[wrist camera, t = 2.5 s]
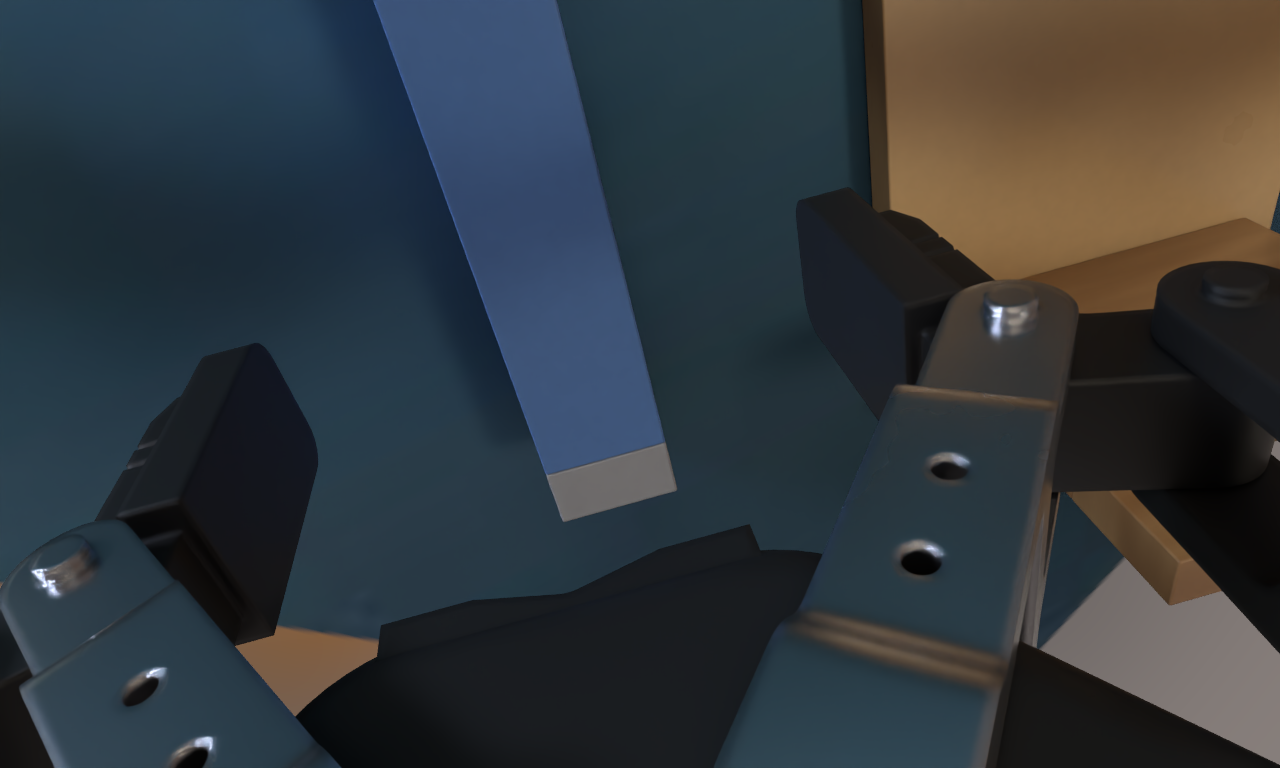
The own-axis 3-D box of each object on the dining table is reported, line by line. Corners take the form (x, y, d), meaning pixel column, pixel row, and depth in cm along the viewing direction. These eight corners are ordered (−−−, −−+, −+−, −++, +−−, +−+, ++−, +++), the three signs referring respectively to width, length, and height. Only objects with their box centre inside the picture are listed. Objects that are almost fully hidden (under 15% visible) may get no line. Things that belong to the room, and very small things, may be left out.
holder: (836, -488, 15) (1443, -1027, 6) (1426, -635, 15) (2927, -1377, 6) (881, 406, 26) (1104, 712, 17) (1215, 313, 26) (1611, 565, 17)
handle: (294, -312, 15) (242, -357, 11) (458, -354, 15) (456, -410, 11) (550, 430, 24) (563, 523, 21) (649, 402, 24) (677, 491, 21)
